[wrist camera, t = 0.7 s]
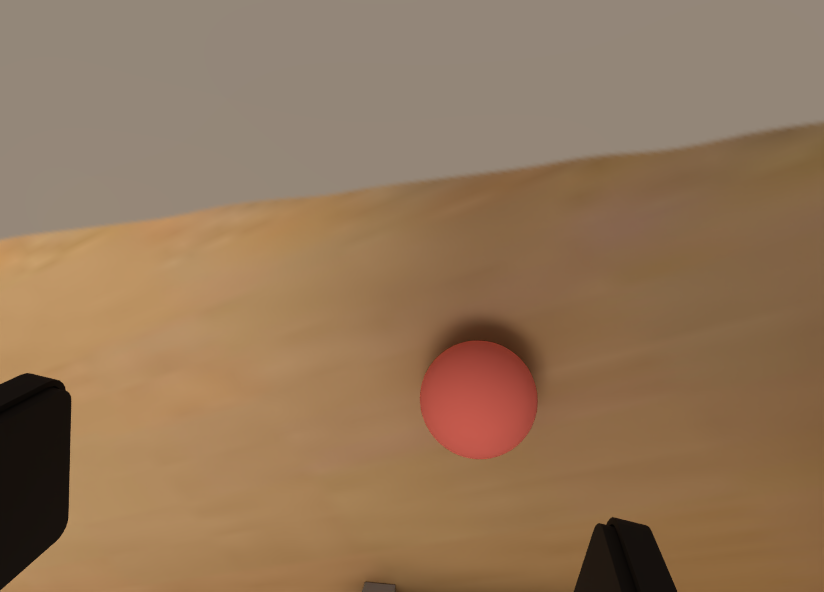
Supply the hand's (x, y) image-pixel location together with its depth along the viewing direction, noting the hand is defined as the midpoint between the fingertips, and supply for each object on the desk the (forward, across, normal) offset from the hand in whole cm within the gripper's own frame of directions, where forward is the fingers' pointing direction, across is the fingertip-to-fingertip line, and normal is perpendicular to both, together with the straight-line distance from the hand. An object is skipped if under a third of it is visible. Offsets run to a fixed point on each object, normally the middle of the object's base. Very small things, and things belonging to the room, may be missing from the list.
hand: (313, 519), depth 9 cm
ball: (+19, -4, +6) cm, 20 cm away
